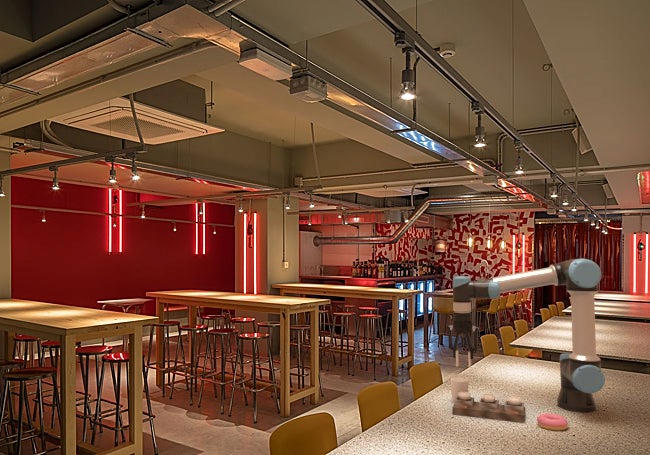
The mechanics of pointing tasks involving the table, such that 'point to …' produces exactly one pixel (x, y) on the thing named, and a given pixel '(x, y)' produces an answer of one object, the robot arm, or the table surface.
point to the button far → (464, 395)
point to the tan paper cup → (458, 386)
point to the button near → (514, 400)
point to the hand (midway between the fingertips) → (463, 366)
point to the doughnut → (552, 422)
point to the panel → (489, 410)
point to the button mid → (488, 398)
